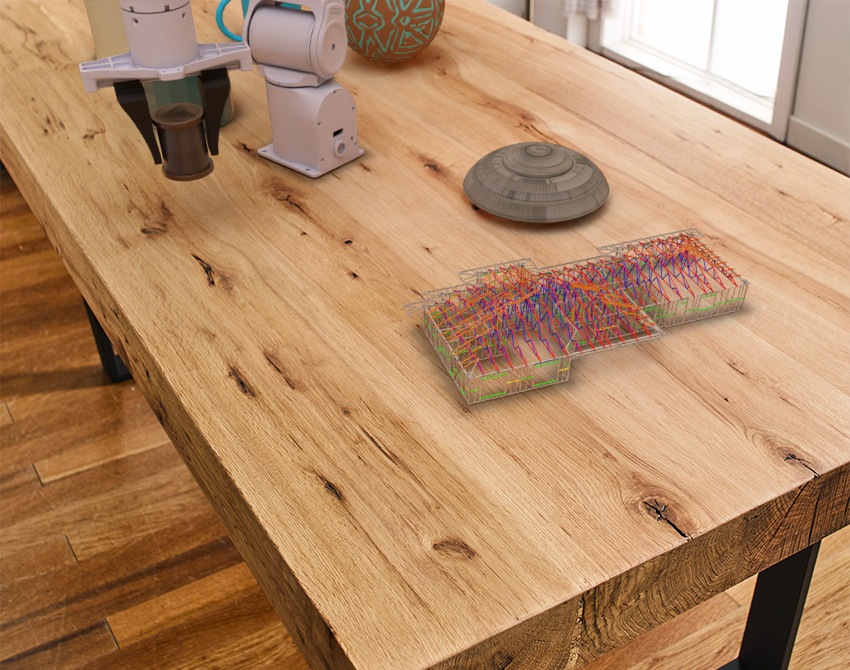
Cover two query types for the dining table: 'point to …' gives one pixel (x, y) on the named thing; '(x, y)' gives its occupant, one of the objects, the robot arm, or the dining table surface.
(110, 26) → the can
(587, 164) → the flying saucer
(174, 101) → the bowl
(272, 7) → the robot arm
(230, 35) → the mug
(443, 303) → the roof frame
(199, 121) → the spool
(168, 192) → the dining table surface
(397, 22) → the decorative sphere
